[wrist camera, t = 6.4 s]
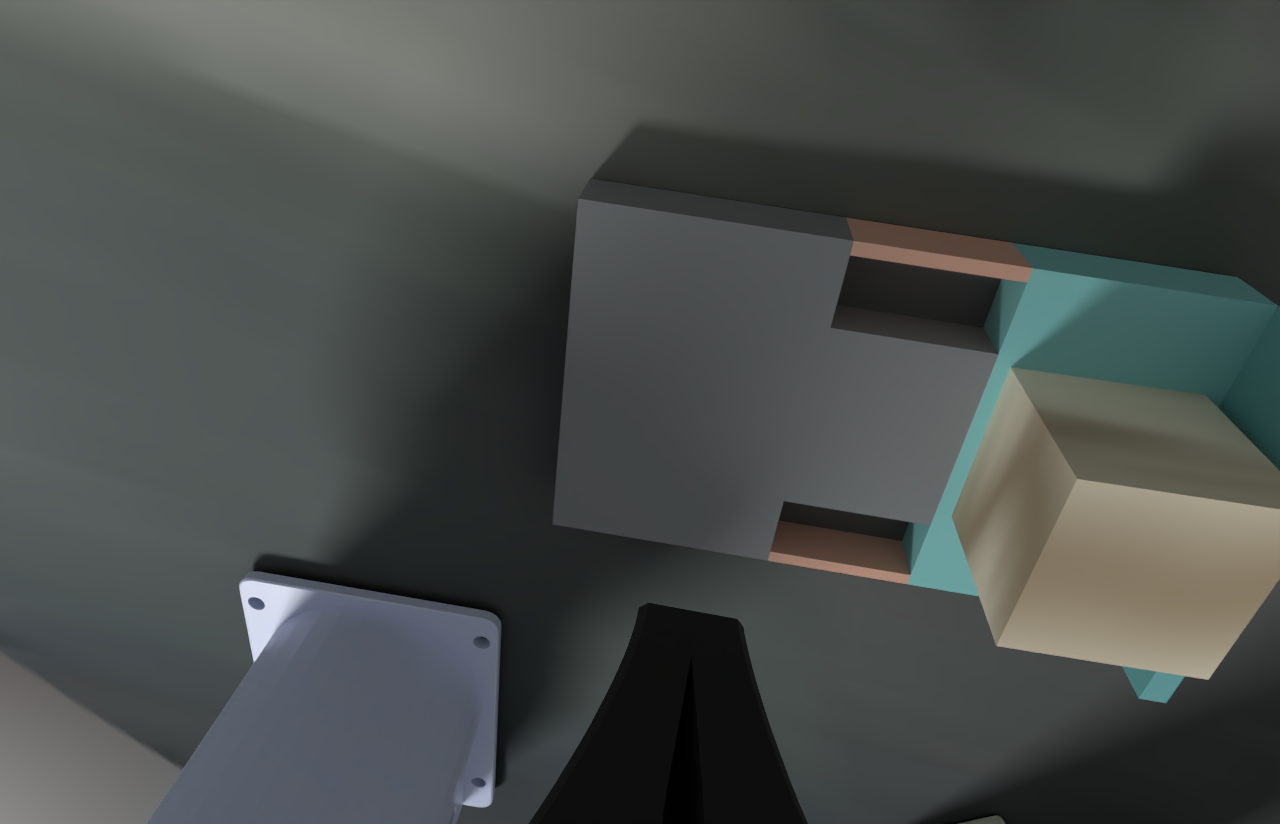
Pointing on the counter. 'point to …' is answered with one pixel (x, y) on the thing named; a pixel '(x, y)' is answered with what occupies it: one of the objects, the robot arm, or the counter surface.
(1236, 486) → the maple block
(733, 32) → the counter surface
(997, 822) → the skincare box
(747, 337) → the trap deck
